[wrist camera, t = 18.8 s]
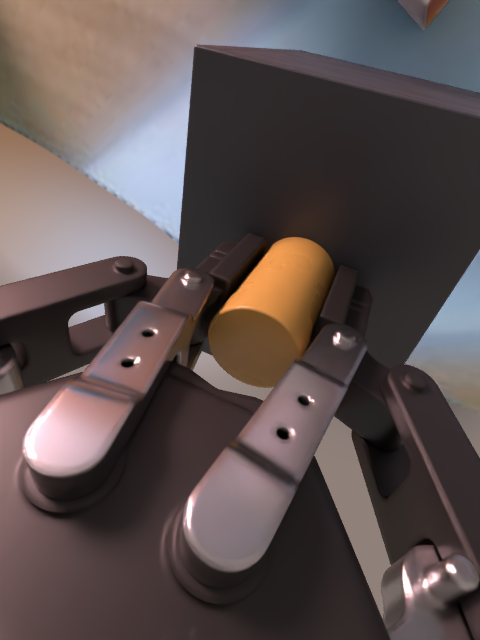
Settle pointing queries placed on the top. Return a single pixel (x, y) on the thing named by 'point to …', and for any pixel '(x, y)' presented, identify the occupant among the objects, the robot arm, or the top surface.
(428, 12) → the small box
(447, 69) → the top surface
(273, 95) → the cover
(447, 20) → the top surface
